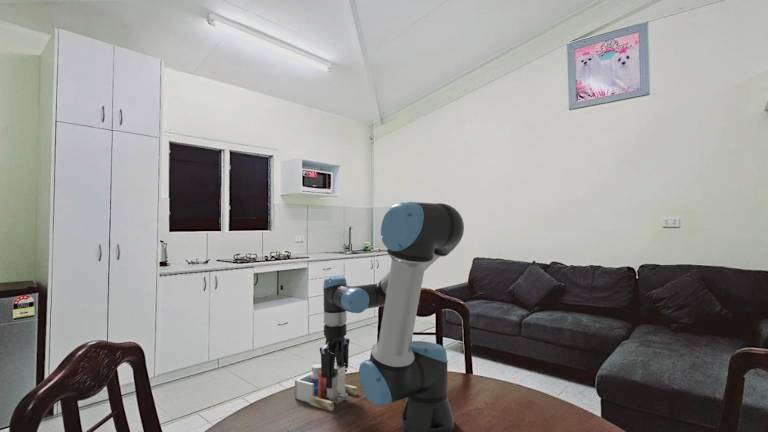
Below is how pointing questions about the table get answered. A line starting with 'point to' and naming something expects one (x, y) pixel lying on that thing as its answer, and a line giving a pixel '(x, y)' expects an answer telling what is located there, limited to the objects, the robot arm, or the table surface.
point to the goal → (304, 388)
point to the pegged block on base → (339, 385)
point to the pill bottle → (315, 377)
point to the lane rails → (329, 404)
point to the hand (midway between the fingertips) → (335, 394)
